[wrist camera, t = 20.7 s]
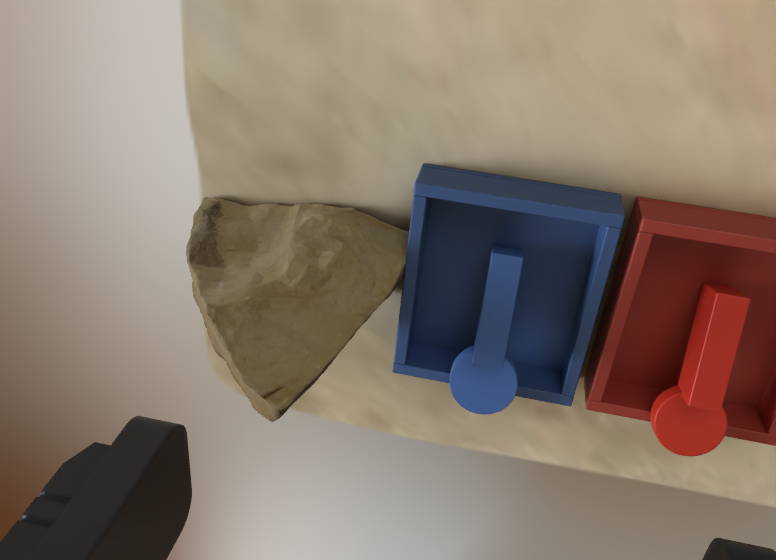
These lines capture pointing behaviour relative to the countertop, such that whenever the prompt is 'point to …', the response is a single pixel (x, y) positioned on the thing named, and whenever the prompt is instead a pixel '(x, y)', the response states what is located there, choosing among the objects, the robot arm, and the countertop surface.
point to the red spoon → (703, 375)
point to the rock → (288, 289)
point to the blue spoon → (491, 341)
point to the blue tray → (537, 281)
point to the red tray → (687, 312)
